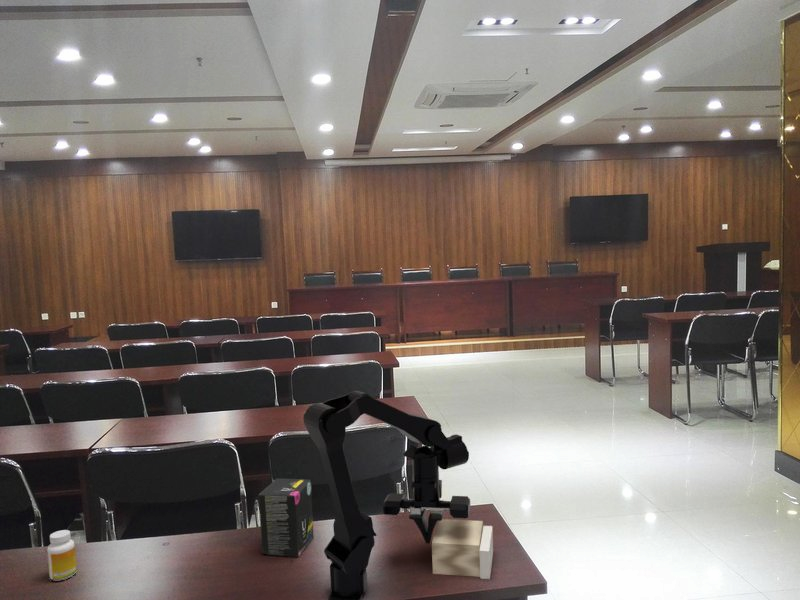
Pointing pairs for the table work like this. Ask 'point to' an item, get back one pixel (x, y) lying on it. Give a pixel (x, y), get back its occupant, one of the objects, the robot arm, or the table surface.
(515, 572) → the table surface
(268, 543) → the tampon box
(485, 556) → the bar
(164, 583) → the table surface
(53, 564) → the supplement bottle
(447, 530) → the block
